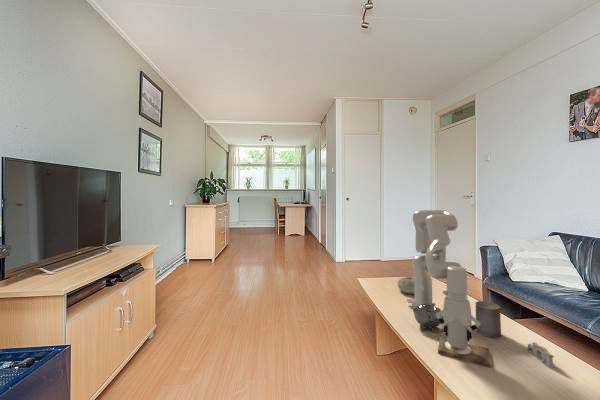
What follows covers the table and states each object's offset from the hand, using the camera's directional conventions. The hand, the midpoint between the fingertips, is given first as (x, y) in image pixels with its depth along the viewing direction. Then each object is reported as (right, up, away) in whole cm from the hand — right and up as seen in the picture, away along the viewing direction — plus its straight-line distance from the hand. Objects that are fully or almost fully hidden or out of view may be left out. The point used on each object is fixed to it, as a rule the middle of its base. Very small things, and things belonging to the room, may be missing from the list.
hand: (457, 336), depth 109 cm
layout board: (+2, -6, -1) cm, 6 cm away
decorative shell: (+11, -6, +70) cm, 71 cm away
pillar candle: (+24, -6, +14) cm, 28 cm away
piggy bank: (-2, -6, +20) cm, 21 cm away
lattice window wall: (+29, -6, -6) cm, 31 cm away
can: (0, -4, 0) cm, 4 cm away
